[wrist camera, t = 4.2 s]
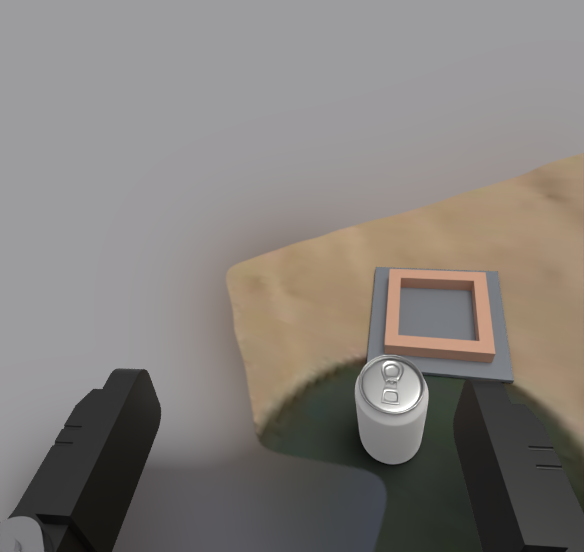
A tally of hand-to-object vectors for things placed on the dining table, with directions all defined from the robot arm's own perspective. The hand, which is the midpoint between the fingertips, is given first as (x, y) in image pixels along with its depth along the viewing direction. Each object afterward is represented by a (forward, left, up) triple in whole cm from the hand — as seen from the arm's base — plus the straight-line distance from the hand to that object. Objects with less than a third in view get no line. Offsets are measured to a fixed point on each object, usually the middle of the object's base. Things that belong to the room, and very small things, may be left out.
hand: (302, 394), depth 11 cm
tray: (+21, -20, -36) cm, 47 cm away
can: (+10, -8, -37) cm, 39 cm away
